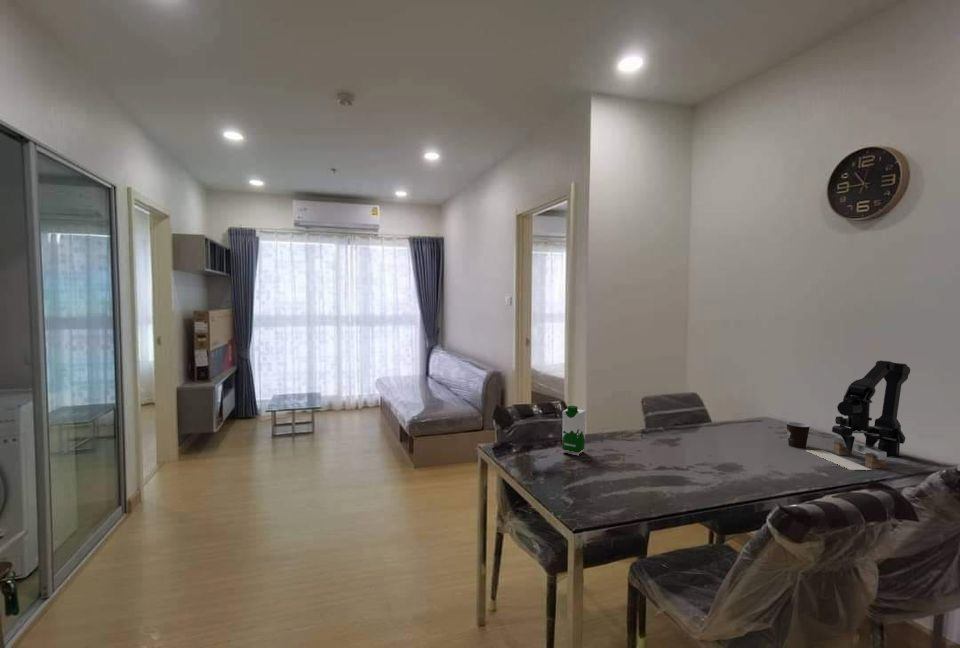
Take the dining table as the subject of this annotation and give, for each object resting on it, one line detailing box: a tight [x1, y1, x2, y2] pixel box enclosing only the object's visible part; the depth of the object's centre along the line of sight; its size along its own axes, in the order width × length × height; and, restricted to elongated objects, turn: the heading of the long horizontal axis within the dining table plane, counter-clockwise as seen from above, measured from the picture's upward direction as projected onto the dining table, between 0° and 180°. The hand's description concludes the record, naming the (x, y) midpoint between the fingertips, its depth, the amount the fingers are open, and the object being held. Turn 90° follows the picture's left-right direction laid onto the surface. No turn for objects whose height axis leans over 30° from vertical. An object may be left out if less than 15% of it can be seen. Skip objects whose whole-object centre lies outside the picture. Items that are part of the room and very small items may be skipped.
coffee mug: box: [786, 421, 811, 449], centre depth 208 cm, size 12×9×10 cm
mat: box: [805, 449, 872, 472], centre depth 188 cm, size 8×24×1 cm, turn 1°
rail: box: [833, 435, 888, 461], centre depth 188 cm, size 3×22×3 cm, turn 1°
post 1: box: [832, 440, 853, 456], centre depth 196 cm, size 6×3×5 cm, turn 91°
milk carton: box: [561, 405, 587, 452], centre depth 192 cm, size 9×9×20 cm
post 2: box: [864, 453, 887, 469], centre depth 180 cm, size 6×3×5 cm, turn 91°
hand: (858, 451), depth 188 cm, fingers open, 7 cm apart
